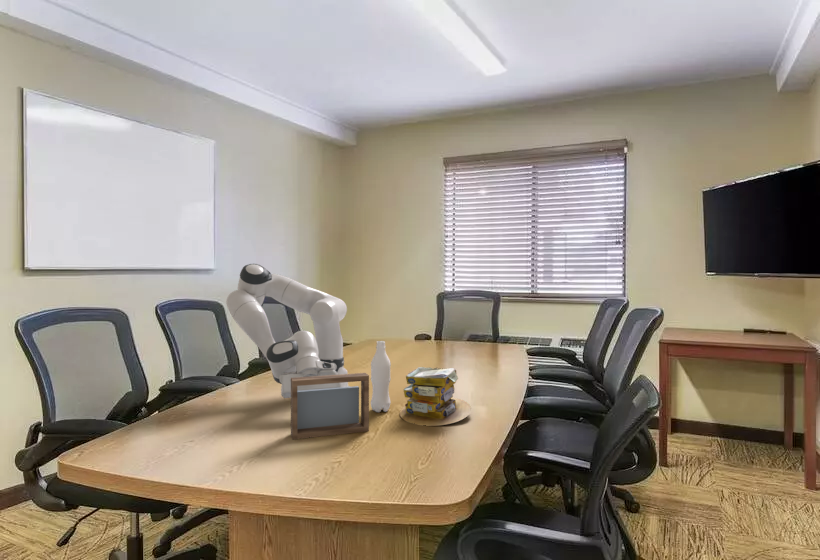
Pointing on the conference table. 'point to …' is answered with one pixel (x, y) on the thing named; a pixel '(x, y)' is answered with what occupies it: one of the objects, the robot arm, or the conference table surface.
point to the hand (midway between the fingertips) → (313, 405)
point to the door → (327, 407)
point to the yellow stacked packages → (433, 398)
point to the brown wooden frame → (336, 428)
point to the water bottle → (380, 379)
